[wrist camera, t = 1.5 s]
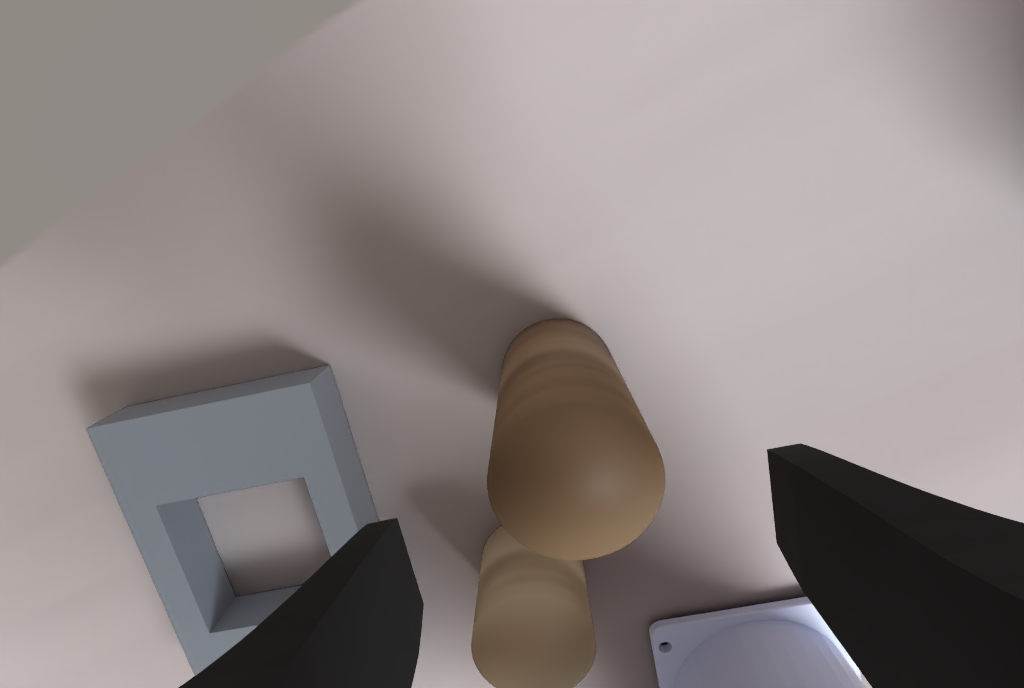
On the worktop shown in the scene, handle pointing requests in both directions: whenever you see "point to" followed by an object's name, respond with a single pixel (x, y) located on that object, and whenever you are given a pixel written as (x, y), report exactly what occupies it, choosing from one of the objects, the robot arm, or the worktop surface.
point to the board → (227, 488)
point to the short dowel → (531, 618)
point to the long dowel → (570, 447)
